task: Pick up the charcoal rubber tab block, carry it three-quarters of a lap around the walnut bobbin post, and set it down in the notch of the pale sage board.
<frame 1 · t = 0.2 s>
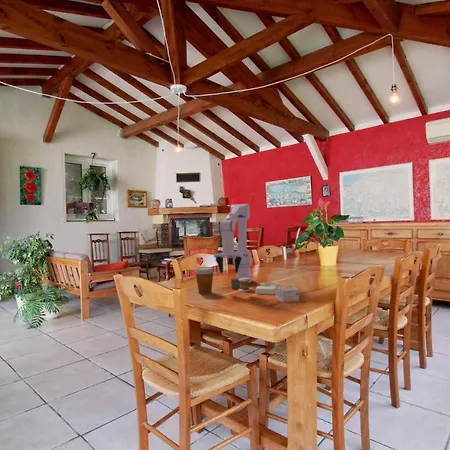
hand: (229, 272, 162), 10 cm above the table, tool pointing down, fingers open, 7 cm apart
small box: (287, 300, 145), on the table
tab block: (235, 288, 172), on the table
notch board: (268, 290, 164), on the table
bobbin post: (245, 290, 166), on the table
disposable coffee cup: (205, 293, 163), on the table
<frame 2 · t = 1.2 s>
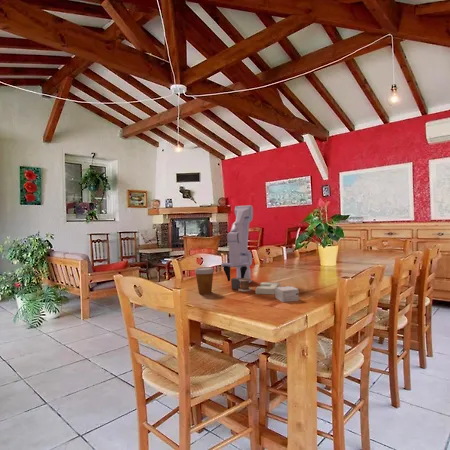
hand: (235, 281, 172), 4 cm above the table, tool pointing down, fingers open, 7 cm apart
nothing on the table moved.
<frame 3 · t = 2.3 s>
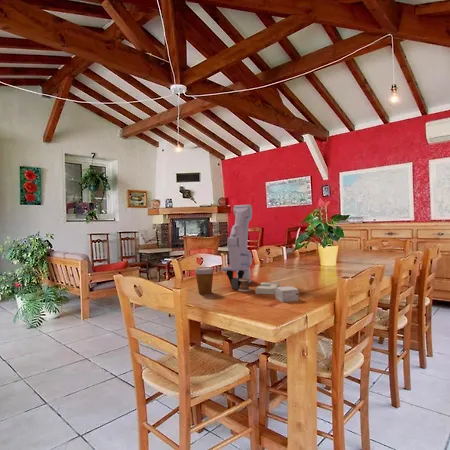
hand: (235, 285, 172), 1 cm above the table, tool pointing down, fingers closed on tab block, 3 cm apart
tab block: (235, 288, 172), on the table, touching gripper
everything else where it was.
when the fingers open (3 cm above the table, at t = 6.3 s): tab block drops 1 cm, on the table.
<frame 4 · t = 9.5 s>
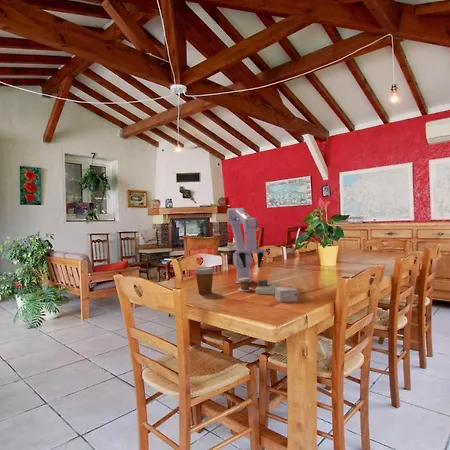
hand: (251, 267, 172), 10 cm above the table, tool pointing down, fingers open, 7 cm apart
tab block: (263, 290, 164), on the table
everything else where it was.
at the end: tab block 0.2 cm from the target spot, on the table; tab block tilted 0°; the gripper is holding nothing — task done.
